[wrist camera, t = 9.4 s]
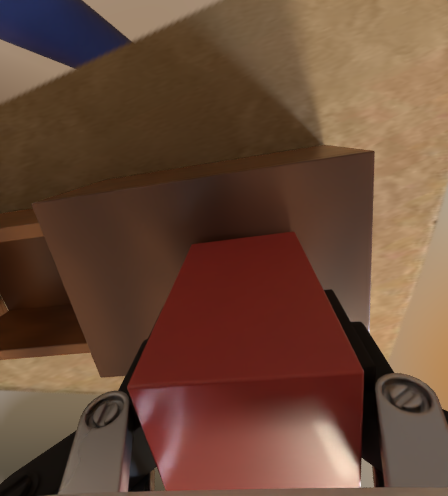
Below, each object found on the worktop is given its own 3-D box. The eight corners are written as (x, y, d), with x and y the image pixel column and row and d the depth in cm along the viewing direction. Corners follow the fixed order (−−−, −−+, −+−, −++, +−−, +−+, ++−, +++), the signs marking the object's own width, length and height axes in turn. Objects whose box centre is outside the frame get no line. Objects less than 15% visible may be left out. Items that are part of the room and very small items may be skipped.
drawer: (-39, 323, 27) (-123, 378, 21) (-98, 220, 24) (-220, 250, 17) (158, 302, 25) (129, 358, 19) (126, 185, 21) (77, 206, 15)
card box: (209, 326, 16) (175, 519, 8) (191, 243, 14) (124, 387, 6) (300, 318, 15) (360, 517, 7) (294, 230, 13) (365, 371, 6)
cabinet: (143, 305, 26) (100, 378, 18) (105, 179, 22) (29, 203, 14) (328, 286, 24) (369, 359, 16) (324, 144, 20) (375, 150, 12)
